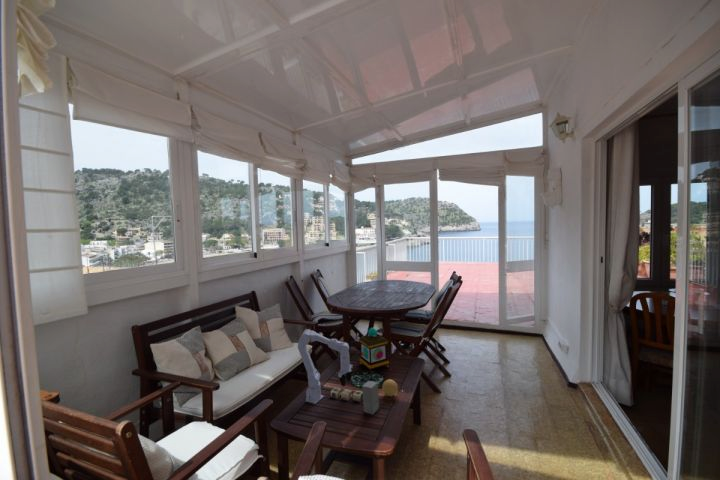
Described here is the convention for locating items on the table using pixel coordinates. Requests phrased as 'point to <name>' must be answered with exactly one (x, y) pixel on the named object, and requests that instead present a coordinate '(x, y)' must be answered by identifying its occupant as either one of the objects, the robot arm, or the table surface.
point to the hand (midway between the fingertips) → (346, 383)
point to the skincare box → (370, 397)
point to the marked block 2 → (357, 395)
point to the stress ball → (390, 387)
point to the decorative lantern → (373, 350)
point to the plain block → (346, 394)
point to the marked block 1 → (335, 392)
